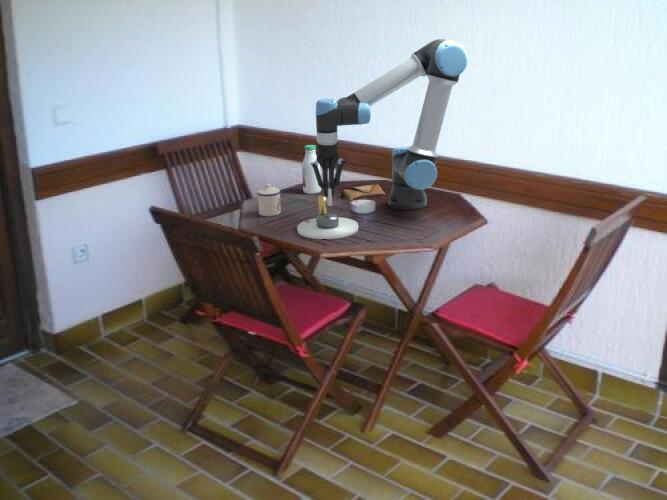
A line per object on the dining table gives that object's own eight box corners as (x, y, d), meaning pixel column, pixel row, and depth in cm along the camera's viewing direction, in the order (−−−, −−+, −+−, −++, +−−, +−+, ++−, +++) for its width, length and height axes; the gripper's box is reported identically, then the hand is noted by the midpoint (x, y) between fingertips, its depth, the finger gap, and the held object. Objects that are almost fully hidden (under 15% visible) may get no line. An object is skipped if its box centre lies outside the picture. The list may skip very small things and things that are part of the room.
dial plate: (362, 221, 290) (362, 216, 289) (353, 240, 269) (353, 235, 269) (304, 220, 294) (304, 216, 293) (291, 238, 273) (291, 234, 273)
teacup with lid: (283, 215, 301) (281, 186, 297) (259, 217, 299) (257, 188, 295) (279, 207, 312) (277, 178, 308) (256, 209, 310) (254, 180, 306)
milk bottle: (324, 190, 334) (322, 144, 328) (316, 194, 328) (314, 147, 321) (308, 188, 337) (306, 143, 331) (300, 193, 331) (297, 147, 324)
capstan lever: (340, 226, 278) (340, 205, 275) (318, 228, 276) (317, 207, 274) (332, 215, 291) (331, 194, 289) (311, 217, 290) (310, 196, 287)
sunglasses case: (350, 200, 316) (345, 185, 317) (343, 205, 323) (339, 190, 324) (388, 194, 324) (384, 179, 325) (381, 199, 330) (377, 184, 331)
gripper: (340, 138, 286) (341, 199, 295) (307, 142, 282) (309, 204, 291) (347, 143, 280) (348, 205, 289) (313, 147, 276) (316, 210, 285)
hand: (329, 204), depth 290 cm, fingers closed
